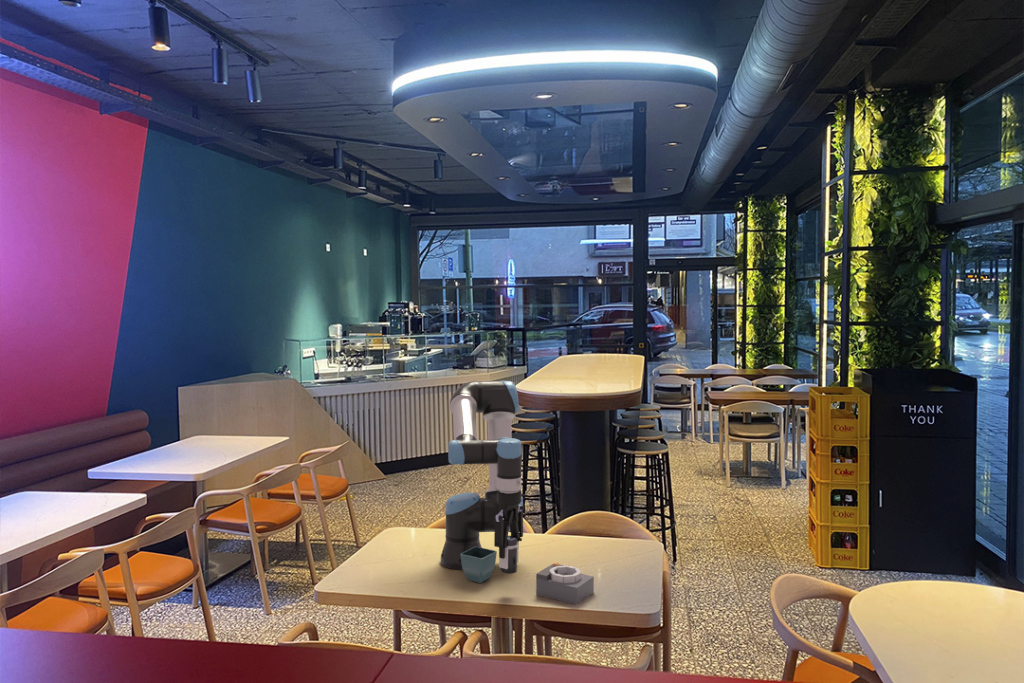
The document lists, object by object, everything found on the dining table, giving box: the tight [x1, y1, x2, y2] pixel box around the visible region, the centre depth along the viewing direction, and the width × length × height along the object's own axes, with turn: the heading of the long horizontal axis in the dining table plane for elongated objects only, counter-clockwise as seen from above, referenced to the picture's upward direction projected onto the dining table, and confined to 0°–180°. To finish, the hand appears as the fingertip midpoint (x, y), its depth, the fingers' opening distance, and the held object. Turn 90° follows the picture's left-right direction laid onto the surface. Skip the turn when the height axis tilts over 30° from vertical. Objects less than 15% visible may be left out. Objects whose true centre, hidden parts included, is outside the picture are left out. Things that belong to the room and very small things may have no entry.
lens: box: [500, 535, 518, 575], centre depth 217 cm, size 5×5×10 cm
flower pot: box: [460, 546, 497, 583], centre depth 230 cm, size 9×9×9 cm
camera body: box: [535, 562, 595, 606], centre depth 218 cm, size 14×11×7 cm
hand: (508, 564), depth 218 cm, fingers closed on lens, 5 cm apart
